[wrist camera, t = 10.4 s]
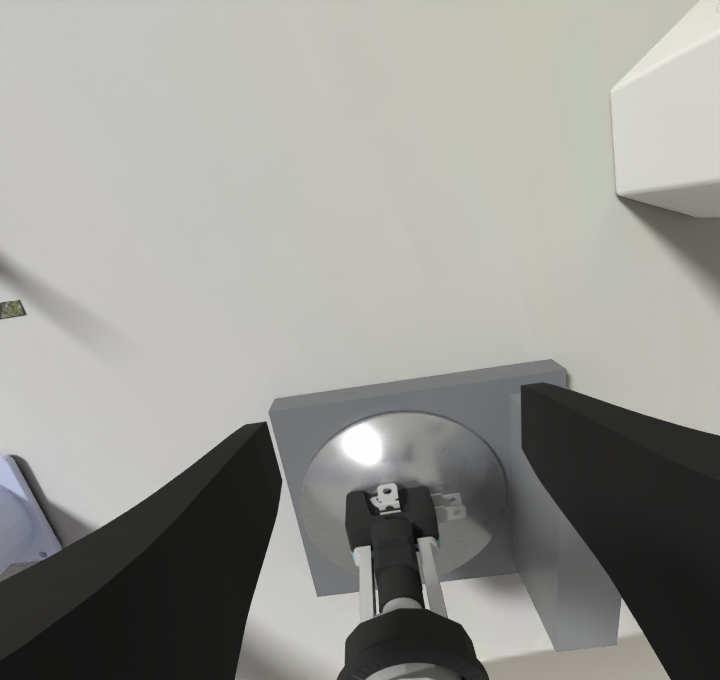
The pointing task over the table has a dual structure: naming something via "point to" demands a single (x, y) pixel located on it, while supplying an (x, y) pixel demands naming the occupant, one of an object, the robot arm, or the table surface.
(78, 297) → the table surface
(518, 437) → the postal scale
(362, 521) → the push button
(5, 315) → the eiffel tower figurine
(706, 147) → the jar
